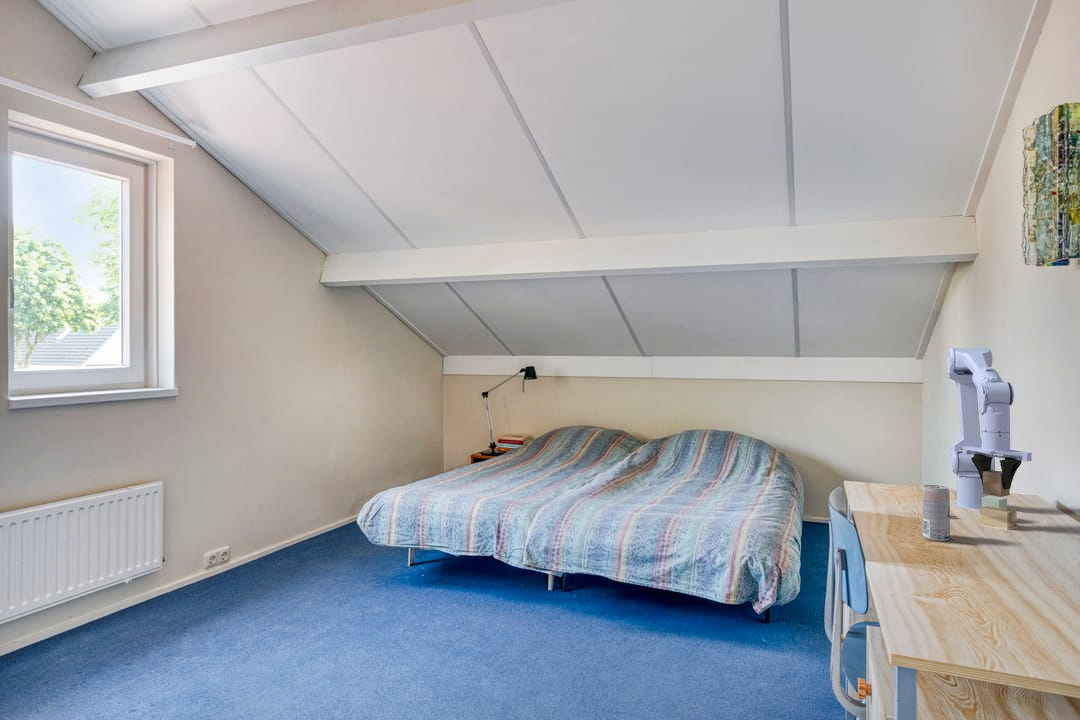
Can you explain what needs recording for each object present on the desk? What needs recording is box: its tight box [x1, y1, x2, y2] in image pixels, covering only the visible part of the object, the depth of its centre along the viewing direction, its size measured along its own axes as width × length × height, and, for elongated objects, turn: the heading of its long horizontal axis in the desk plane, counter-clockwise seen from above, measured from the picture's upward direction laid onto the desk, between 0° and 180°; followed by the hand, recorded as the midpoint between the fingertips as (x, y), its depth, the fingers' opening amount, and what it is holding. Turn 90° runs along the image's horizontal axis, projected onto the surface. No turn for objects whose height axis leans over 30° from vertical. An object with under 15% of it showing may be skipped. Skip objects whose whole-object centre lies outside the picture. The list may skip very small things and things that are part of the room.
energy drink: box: [922, 484, 951, 543], centre depth 153 cm, size 5×5×12 cm
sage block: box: [982, 495, 1008, 509], centre depth 168 cm, size 4×4×6 cm
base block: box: [979, 506, 1018, 531], centre depth 161 cm, size 4×6×4 cm
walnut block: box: [983, 470, 1011, 498], centre depth 161 cm, size 4×4×6 cm
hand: (996, 487), depth 161 cm, fingers closed on walnut block, 4 cm apart
